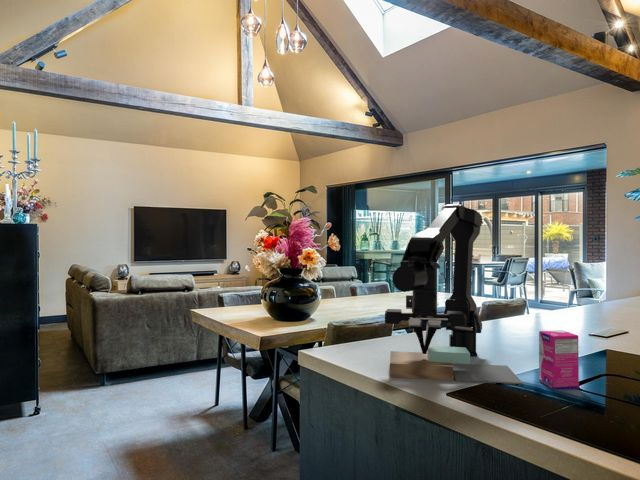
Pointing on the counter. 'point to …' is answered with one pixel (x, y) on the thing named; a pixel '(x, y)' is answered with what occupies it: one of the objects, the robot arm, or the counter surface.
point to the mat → (484, 374)
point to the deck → (418, 366)
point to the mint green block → (448, 354)
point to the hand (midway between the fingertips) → (424, 353)
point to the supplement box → (559, 359)
